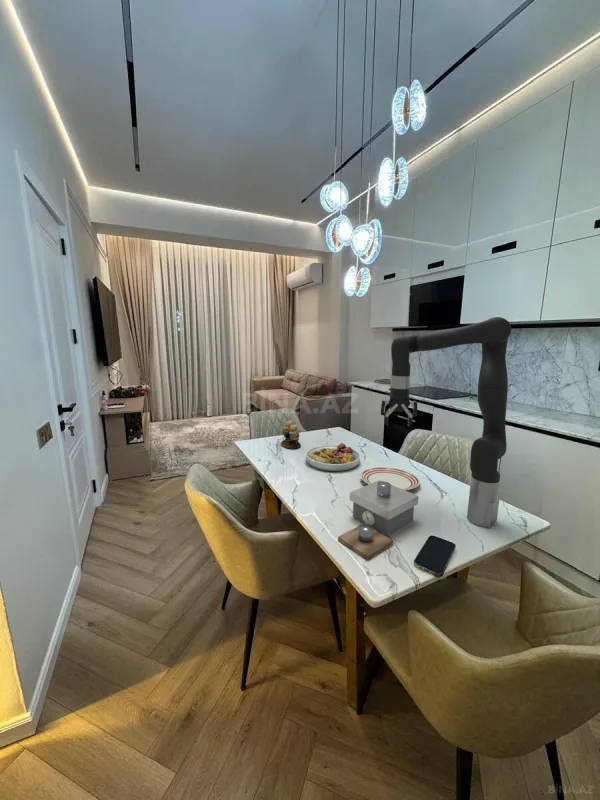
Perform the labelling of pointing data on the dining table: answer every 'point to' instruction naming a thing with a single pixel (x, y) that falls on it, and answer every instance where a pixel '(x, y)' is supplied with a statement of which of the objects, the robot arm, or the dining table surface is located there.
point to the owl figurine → (290, 436)
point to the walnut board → (362, 548)
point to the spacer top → (365, 533)
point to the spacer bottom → (383, 489)
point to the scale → (382, 519)
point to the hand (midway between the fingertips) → (397, 425)
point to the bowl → (333, 457)
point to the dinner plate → (390, 477)
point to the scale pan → (384, 500)
